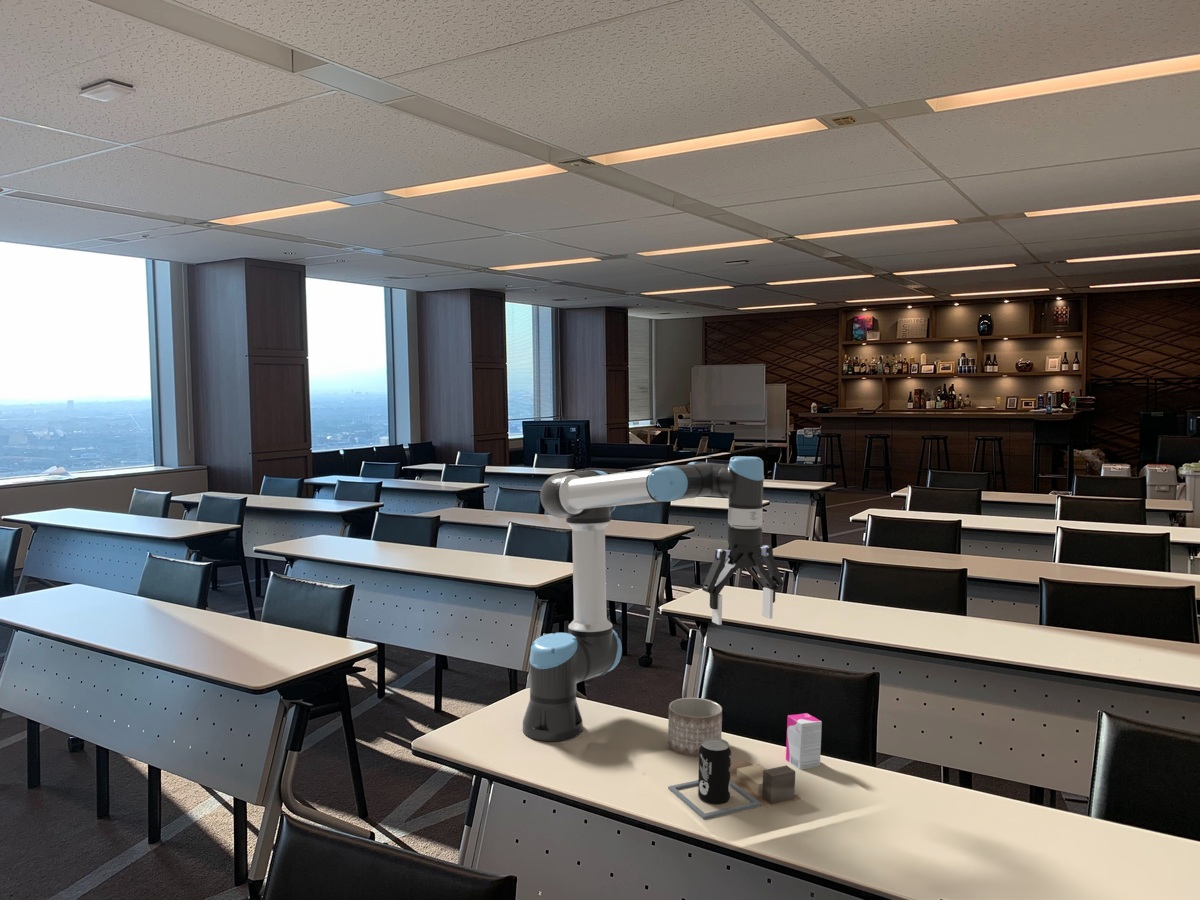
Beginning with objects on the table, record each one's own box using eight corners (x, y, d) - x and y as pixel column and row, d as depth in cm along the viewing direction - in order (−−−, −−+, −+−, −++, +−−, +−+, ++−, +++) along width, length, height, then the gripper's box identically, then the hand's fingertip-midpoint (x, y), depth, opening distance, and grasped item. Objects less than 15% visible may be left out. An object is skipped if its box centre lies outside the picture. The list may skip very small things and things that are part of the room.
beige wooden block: (736, 779, 183) (736, 768, 183) (759, 774, 186) (759, 763, 186) (758, 795, 176) (758, 784, 176) (781, 790, 179) (781, 779, 178)
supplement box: (821, 770, 191) (822, 721, 190) (799, 774, 189) (800, 724, 188) (805, 759, 196) (807, 711, 196) (784, 763, 194) (786, 715, 193)
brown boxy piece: (712, 771, 189) (713, 741, 189) (745, 764, 193) (746, 735, 193) (766, 811, 171) (767, 778, 171) (801, 803, 175) (802, 770, 175)
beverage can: (728, 808, 171) (730, 751, 170) (696, 804, 173) (697, 748, 172) (730, 793, 178) (732, 738, 177) (699, 790, 179) (700, 735, 178)
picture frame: (668, 793, 179) (668, 786, 178) (723, 781, 184) (723, 774, 184) (703, 824, 166) (703, 816, 166) (761, 810, 172) (761, 803, 172)
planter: (723, 742, 206) (724, 700, 205) (717, 763, 193) (718, 719, 193) (672, 735, 209) (673, 695, 208) (663, 757, 197) (664, 713, 196)
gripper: (706, 531, 177) (703, 630, 179) (800, 525, 188) (797, 618, 189) (687, 526, 184) (685, 621, 186) (780, 520, 195) (777, 610, 196)
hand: (742, 620), depth 187 cm, fingers open, 13 cm apart
